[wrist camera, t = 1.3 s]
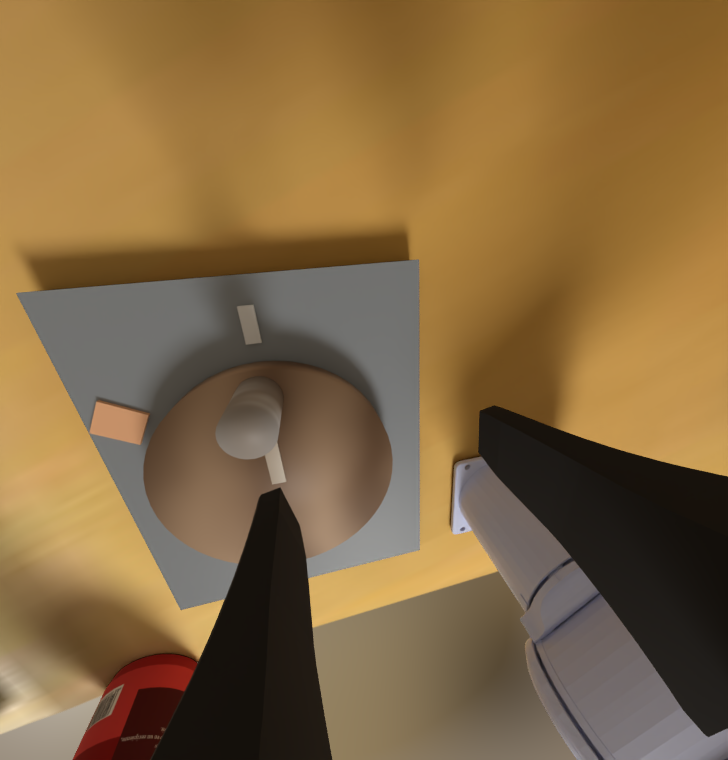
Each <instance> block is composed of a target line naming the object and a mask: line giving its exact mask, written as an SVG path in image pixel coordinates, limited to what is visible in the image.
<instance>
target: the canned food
mask: <svg viewBox="0 0 728 760" xmlns="http://www.w3.org/2000/svg"><path fill="white" fill-rule="evenodd" d="M197 664H198V663H197V662H195V661H194V660H193V659H191V658H188V657H186V656H182V655H177V654H159V655H152V656H148V657H144V658H141V659H139V660H136V661H134V662H132V663H130V664H128V665H127V666H125V667H124V668H122V669H121V670H120V671H119V672H118V673H117V674H116V675H115V677H114V678H113V680H112V681H111V682H110V684H109V685H108V687H107V688H106V690H105V692H104V694H103V696H102V698H101V700H100V702H99V704H98V707H97V709H96V711H95V713H94V715H93V717H92V719H91V721H90V723H89V726H88V728H87V730H86V732H85V734H84V736H83V738H82V741H81V743H80V745H79V747H78V749H77V751H76V753H75V756H74V758H73V760H150V759H151V757H152V755H153V753H154V751H155V749H156V747H157V745H158V743H159V741H160V739H161V737H162V735H163V734H164V732H165V730H166V728H167V726H168V724H169V722H170V720H171V718H172V715H173V713H174V711H175V709H176V707H177V705H178V703H179V701H180V699H181V697H182V695H183V693H184V691H185V689H186V687H187V685H188V683H189V681H190V679H191V677H192V675H193V672H194V670H195V668H196V666H197Z"/></svg>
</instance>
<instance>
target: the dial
mask: <svg viewBox="0 0 728 760" xmlns="http://www.w3.org/2000/svg"><path fill="white" fill-rule="evenodd" d="M392 467H393V457H392V449H391V444H390V441H389V437H388V434H387V432H386V430H385V428H384V426H383V424H382V422H381V420H380V418H379V416H378V414H377V412H376V411H375V409H374V408H373V406H372V405H371V403H370V402H369V401H368V399H367V398H366V397H365V396H364V395H363V394H362V393H361V392H360V391H359V390H358V389H357V388H355V387H354V386H353V385H352V384H351V383H349V382H348V381H346V380H344V379H343V378H341V377H339V376H338V375H336V374H333V373H331V372H329V371H327V370H325V369H322V368H319V367H315V366H312V365H309V364H303V363H298V362H292V361H262V362H254V363H249V364H244V365H239V366H236V367H233V368H230V369H227V370H224V371H222V372H220V373H217V374H215V375H213V376H211V377H209V378H207V379H206V380H204V381H203V382H201V383H200V384H198V385H197V386H195V387H194V388H193V389H191V390H190V391H189V392H188V393H187V394H186V395H185V396H183V397H182V398H181V399H180V400H179V402H178V403H177V404H176V405H175V406H174V407H173V408H172V409H171V410H170V411H169V413H168V414H167V415H166V416H165V417H164V419H163V420H162V421H161V422H160V423H159V425H158V427H157V428H156V430H155V432H154V433H153V435H152V437H151V439H150V442H149V445H148V447H147V450H146V454H145V459H144V465H143V480H144V486H145V491H146V495H147V498H148V500H149V503H150V506H151V507H152V509H153V511H154V513H155V514H156V516H157V518H158V519H159V520H160V521H161V523H162V524H163V525H164V526H165V528H166V529H167V530H168V531H169V532H171V533H172V534H173V535H174V536H175V537H176V538H177V539H179V540H180V541H182V542H183V543H184V544H186V545H187V546H189V547H191V548H193V549H195V550H197V551H198V552H200V553H203V554H205V555H208V556H210V557H213V558H216V559H220V560H223V561H227V562H232V563H239V560H240V557H241V554H242V552H243V549H244V546H245V543H246V540H247V536H248V533H249V530H250V527H251V524H252V520H253V517H254V513H255V510H256V506H257V503H258V499H259V497H260V495H261V494H264V493H266V492H269V491H272V490H274V489H277V488H279V487H281V489H282V491H283V493H284V495H285V497H286V499H287V501H288V503H289V505H290V507H291V509H292V511H293V513H294V515H295V517H296V519H297V521H298V522H299V524H300V528H301V533H302V538H303V543H304V548H305V554H306V559H307V558H311V557H314V556H316V555H319V554H321V553H324V552H326V551H328V550H330V549H332V548H334V547H336V546H338V545H340V544H341V543H343V542H344V541H346V540H348V539H349V538H350V537H352V536H353V535H354V534H355V533H357V532H358V531H359V530H360V529H361V528H362V527H363V526H364V525H365V524H366V523H367V522H368V521H369V520H370V519H371V518H372V516H373V515H374V514H375V513H376V511H377V510H378V508H379V507H380V505H381V503H382V501H383V499H384V497H385V495H386V493H387V490H388V487H389V484H390V481H391V475H392Z"/></svg>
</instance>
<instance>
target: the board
mask: <svg viewBox="0 0 728 760" xmlns="http://www.w3.org/2000/svg"><path fill="white" fill-rule="evenodd" d="M16 294H17V296H18V298H19V300H20V302H21V303H22V305H23V307H24V309H25V311H26V313H27V315H28V317H29V319H30V321H31V323H32V325H33V327H34V328H35V330H36V332H37V334H38V336H39V338H40V340H41V342H42V344H43V346H44V348H45V350H46V352H47V353H48V355H49V357H50V359H51V361H52V363H53V365H54V367H55V369H56V371H57V373H58V375H59V377H60V378H61V380H62V382H63V384H64V386H65V388H66V390H67V392H68V394H69V396H70V398H71V400H72V402H73V403H74V405H75V407H76V409H77V411H78V413H79V415H80V417H81V419H82V421H83V423H84V425H85V427H86V428H87V430H88V432H89V434H90V436H91V438H92V440H93V442H94V444H95V446H96V448H97V450H98V452H99V453H100V455H101V457H102V459H103V461H104V463H105V465H106V467H107V469H108V471H109V473H110V475H111V477H112V478H113V480H114V482H115V484H116V486H117V488H118V490H119V492H120V494H121V496H122V498H123V500H124V502H125V503H126V505H127V507H128V509H129V511H130V513H131V515H132V517H133V519H134V521H135V523H136V525H137V527H138V528H139V530H140V532H141V534H142V536H143V538H144V540H145V542H146V544H147V546H148V548H149V550H150V552H151V553H152V555H153V557H154V559H155V561H156V563H157V565H158V567H159V569H160V571H161V573H162V575H163V577H164V578H165V580H166V582H167V584H168V586H169V588H170V590H171V592H172V594H173V596H174V598H175V600H176V602H177V603H178V605H179V607H180V609H181V610H183V609H187V608H191V607H195V606H199V605H203V604H207V603H211V602H215V601H219V600H223V599H225V598H226V595H227V593H228V590H229V588H230V585H231V583H232V580H233V577H234V575H235V572H236V569H237V566H238V563H232V562H227V561H223V560H220V559H216V558H213V557H210V556H208V555H205V554H203V553H200V552H198V551H197V550H195V549H193V548H191V547H189V546H187V545H186V544H184V543H183V542H182V541H180V540H179V539H177V538H176V537H175V536H174V535H173V534H172V533H171V532H169V531H168V530H167V529H166V528H165V526H164V525H163V524H162V523H161V521H160V520H159V519H158V518H157V516H156V514H155V513H154V511H153V509H152V507H151V506H150V503H149V500H148V498H147V495H146V491H145V486H144V480H143V465H144V459H145V454H146V450H147V447H148V445H149V442H150V439H151V437H152V435H153V433H154V432H155V430H156V428H157V427H158V425H159V423H160V422H161V421H162V420H163V419H164V417H165V416H166V415H167V414H168V413H169V411H170V410H171V409H172V408H173V407H174V406H175V405H176V404H177V403H178V402H179V400H180V399H181V398H182V397H183V396H185V395H186V394H187V393H188V392H189V391H190V390H191V389H193V388H194V387H195V386H197V385H198V384H200V383H201V382H203V381H204V380H206V379H207V378H209V377H211V376H213V375H215V374H217V373H220V372H222V371H224V370H227V369H230V368H233V367H236V366H239V365H244V364H249V363H254V362H262V361H292V362H298V363H303V364H309V365H312V366H315V367H319V368H322V369H325V370H327V371H329V372H331V373H333V374H336V375H338V376H339V377H341V378H343V379H344V380H346V381H348V382H349V383H351V384H352V385H353V386H354V387H355V388H357V389H358V390H359V391H360V392H361V393H362V394H363V395H364V396H365V397H366V398H367V399H368V401H369V402H370V403H371V405H372V406H373V408H374V409H375V411H376V412H377V414H378V416H379V418H380V420H381V422H382V424H383V426H384V428H385V430H386V432H387V434H388V437H389V441H390V444H391V449H392V457H393V467H392V475H391V481H390V484H389V487H388V490H387V493H386V495H385V497H384V499H383V501H382V503H381V505H380V507H379V508H378V510H377V511H376V513H375V514H374V515H373V516H372V518H371V519H370V520H369V521H368V522H367V523H366V524H365V525H364V526H363V527H362V528H361V529H360V530H359V531H358V532H357V533H355V534H354V535H353V536H352V537H350V538H349V539H348V540H346V541H344V542H343V543H341V544H340V545H338V546H336V547H334V548H332V549H330V550H328V551H326V552H324V553H321V554H319V555H316V556H314V557H311V558H307V559H306V560H307V571H308V578H310V577H314V576H318V575H322V574H326V573H330V572H334V571H338V570H342V569H346V568H350V567H354V566H358V565H362V564H366V563H370V562H374V561H378V560H382V559H386V558H390V557H394V556H398V555H402V554H406V553H410V552H414V551H418V550H420V462H419V260H407V261H395V262H383V263H371V264H359V265H347V266H335V267H323V268H311V269H298V270H286V271H274V272H262V273H250V274H238V275H226V276H214V277H202V278H190V279H178V280H166V281H154V282H142V283H130V284H118V285H106V286H94V287H81V288H69V289H57V290H45V291H34V292H23V293H16Z"/></svg>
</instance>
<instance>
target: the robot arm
mask: <svg viewBox="0 0 728 760" xmlns="http://www.w3.org/2000/svg"><path fill="white" fill-rule="evenodd" d="M478 452H479V454H480V455H481V456H482V457H477V458H472V459H467V460H462V461H459V462H457V463H456V464H455V465H454V477H453V496H452V514H451V531H452V533H453V534H460V533H464V532H468V531H473V533H474V534H475V536H476V537H477V539H478V540H479V542H480V543H481V545H482V546H483V548H484V549H485V551H486V553H487V554H488V556H489V557H490V559H491V560H492V562H493V563H494V565H495V566H496V568H497V570H498V571H499V572H500V574H501V576H502V577H503V579H504V580H505V582H506V583H507V585H508V586H509V588H510V589H511V591H512V592H513V594H514V596H515V597H516V599H517V600H518V602H519V603H520V605H521V607H522V608H523V610H524V611H525V614H524V615H523V616H522V617H521V618H520V621H521V622H522V624H523V625H524V627H525V629H526V630H527V632H528V634H529V635H530V637H531V638H529V639H528V640H527V641H526V644H525V652H526V657H527V666H528V670H529V674H530V677H531V679H532V682H533V685H534V687H535V689H536V692H537V694H538V696H539V698H540V700H541V702H542V704H543V706H544V708H545V709H546V711H547V713H548V715H549V717H550V718H551V720H552V722H553V724H554V725H555V727H556V728H557V730H558V732H559V733H560V735H561V736H562V738H563V740H564V741H565V743H566V744H567V746H568V747H569V749H570V750H571V752H572V753H573V755H574V756H575V757H576V759H577V760H728V477H727V476H722V475H717V474H713V473H708V472H704V471H699V470H695V469H690V468H686V467H681V466H677V465H673V464H669V463H665V462H661V461H657V460H654V459H650V458H646V457H643V456H639V455H635V454H632V453H628V452H625V451H621V450H618V449H615V448H611V447H608V446H605V445H602V444H599V443H596V442H593V441H590V440H587V439H584V438H581V437H578V436H575V435H572V434H570V433H567V432H564V431H561V430H559V429H556V428H553V427H551V426H548V425H545V424H543V423H540V422H537V421H535V420H532V419H530V418H527V417H525V416H522V415H519V414H517V413H514V412H511V411H509V410H506V409H503V408H501V407H498V406H495V405H494V406H491V407H489V408H486V409H484V410H481V411H480V417H479V450H478ZM466 465H467V466H466ZM465 466H466V467H465ZM150 760H332V756H331V750H330V744H329V739H328V733H327V727H326V721H325V716H324V710H323V704H322V698H321V691H320V685H319V679H318V673H317V667H316V659H315V651H314V644H313V631H312V618H311V606H310V594H309V582H308V571H307V560H306V554H305V548H304V543H303V538H302V533H301V528H300V524H299V522H298V521H297V519H296V517H295V515H294V513H293V511H292V509H291V507H290V505H289V503H288V501H287V499H286V497H285V495H284V493H283V491H282V489H281V487H279V488H277V489H274V490H272V491H269V492H266V493H264V494H261V495H260V497H259V499H258V503H257V506H256V510H255V513H254V517H253V520H252V524H251V527H250V530H249V533H248V536H247V540H246V543H245V546H244V549H243V552H242V554H241V557H240V560H239V563H238V566H237V569H236V572H235V575H234V577H233V580H232V583H231V585H230V588H229V590H228V593H227V595H226V598H225V600H224V603H223V605H222V608H221V611H220V613H219V616H218V618H217V620H216V623H215V625H214V628H213V630H212V632H211V635H210V637H209V639H208V641H207V644H206V646H205V648H204V651H203V653H202V655H201V657H200V659H199V661H198V664H197V666H196V668H195V670H194V672H193V675H192V677H191V679H190V681H189V683H188V685H187V687H186V689H185V691H184V693H183V695H182V697H181V699H180V701H179V703H178V705H177V707H176V709H175V711H174V713H173V715H172V718H171V720H170V722H169V724H168V726H167V728H166V730H165V732H164V734H163V735H162V737H161V739H160V741H159V743H158V745H157V747H156V749H155V751H154V753H153V755H152V757H151V759H150Z"/></svg>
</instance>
